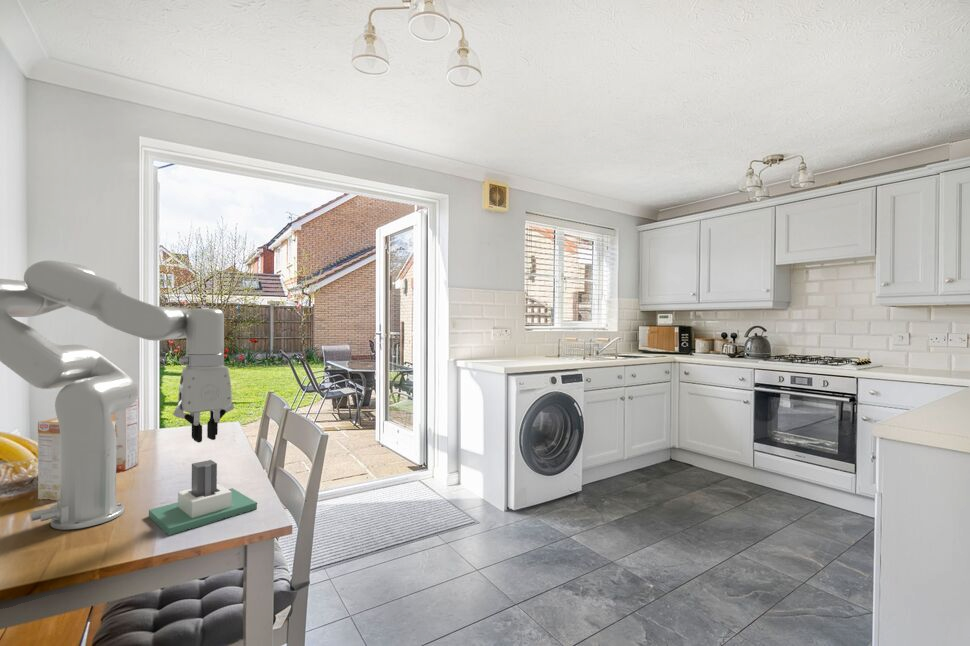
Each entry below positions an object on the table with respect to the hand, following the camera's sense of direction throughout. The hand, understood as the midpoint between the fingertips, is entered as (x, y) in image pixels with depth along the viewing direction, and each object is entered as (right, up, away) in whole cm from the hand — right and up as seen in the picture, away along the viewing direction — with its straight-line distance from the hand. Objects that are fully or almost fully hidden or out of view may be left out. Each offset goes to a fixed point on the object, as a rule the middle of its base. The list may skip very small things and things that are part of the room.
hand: (204, 439), depth 107 cm
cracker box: (-47, -16, +30) cm, 58 cm away
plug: (0, -16, 0) cm, 16 cm away
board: (0, -17, 0) cm, 17 cm away
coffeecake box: (-41, -17, +13) cm, 46 cm away
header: (0, -16, 0) cm, 16 cm away
